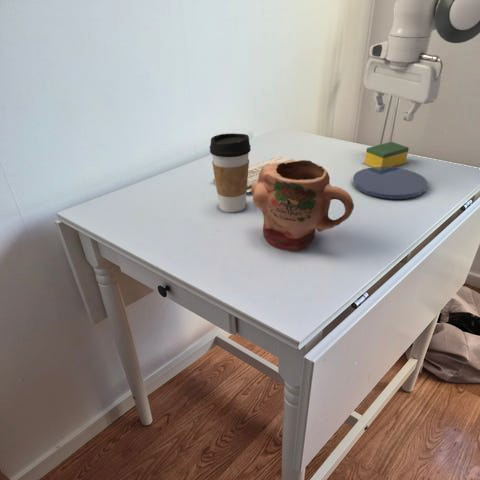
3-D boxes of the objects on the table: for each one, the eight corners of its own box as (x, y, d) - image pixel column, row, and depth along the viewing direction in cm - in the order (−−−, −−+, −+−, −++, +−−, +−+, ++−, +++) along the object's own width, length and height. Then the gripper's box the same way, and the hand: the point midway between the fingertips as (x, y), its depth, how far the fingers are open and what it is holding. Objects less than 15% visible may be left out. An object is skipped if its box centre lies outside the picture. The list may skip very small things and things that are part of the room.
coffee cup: (239, 218, 90) (237, 146, 80) (206, 210, 93) (200, 139, 84) (257, 202, 96) (258, 133, 86) (226, 195, 99) (222, 128, 89)
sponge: (388, 156, 116) (391, 141, 113) (405, 163, 112) (409, 147, 110) (364, 163, 113) (366, 147, 110) (380, 170, 109) (383, 154, 106)
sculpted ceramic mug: (355, 236, 83) (368, 166, 74) (338, 267, 75) (349, 192, 66) (263, 217, 90) (263, 151, 81) (237, 244, 82) (235, 173, 73)
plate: (387, 167, 110) (388, 161, 109) (441, 189, 99) (443, 183, 98) (337, 181, 104) (338, 176, 103) (389, 207, 92) (390, 201, 92)
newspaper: (245, 198, 98) (244, 187, 96) (214, 187, 106) (212, 177, 104) (312, 172, 108) (312, 162, 107) (280, 164, 116) (279, 154, 115)
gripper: (454, 55, 90) (436, 124, 99) (383, 43, 104) (373, 105, 113) (434, 58, 88) (417, 128, 97) (364, 46, 101) (355, 108, 110)
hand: (393, 115), depth 105 cm, fingers open, 8 cm apart
